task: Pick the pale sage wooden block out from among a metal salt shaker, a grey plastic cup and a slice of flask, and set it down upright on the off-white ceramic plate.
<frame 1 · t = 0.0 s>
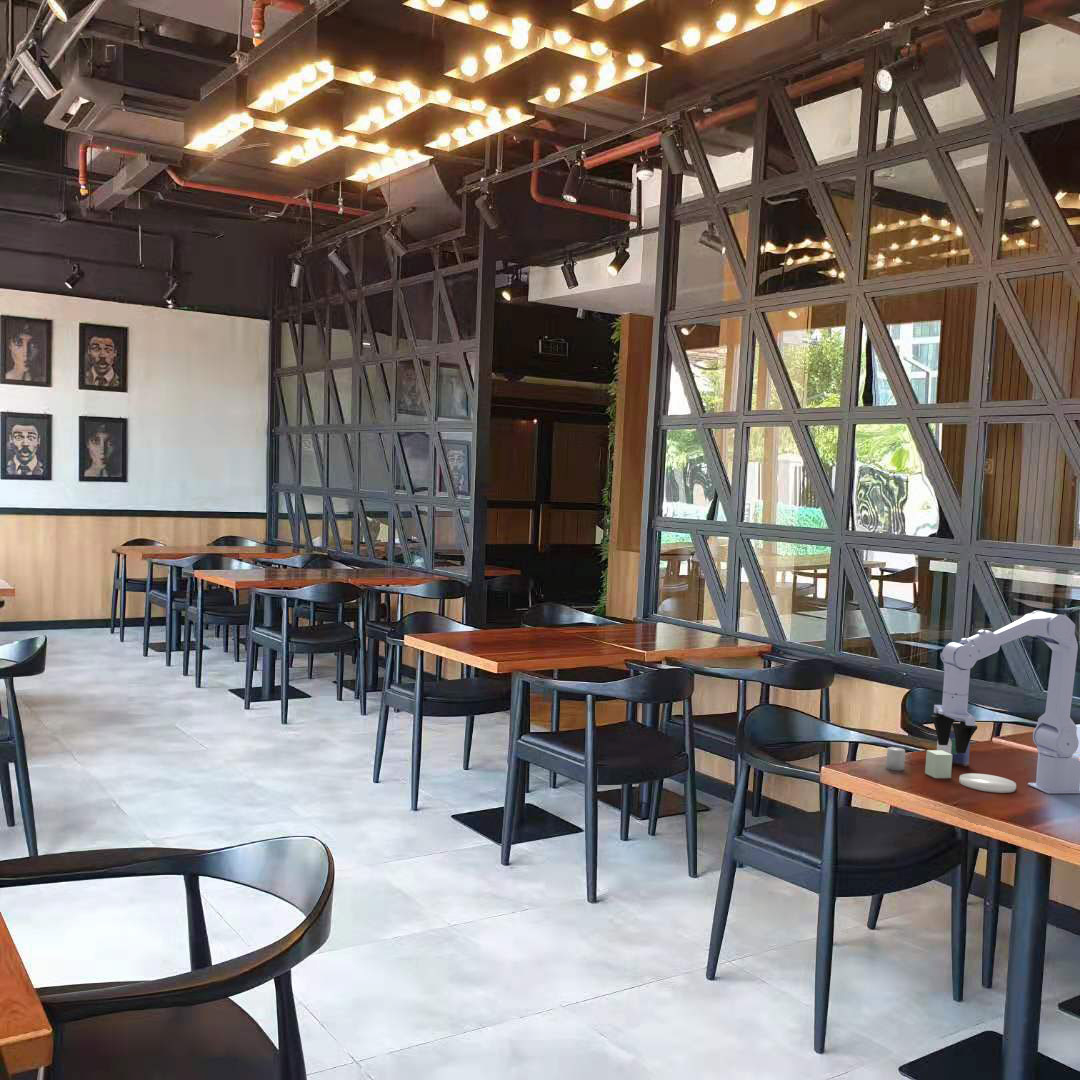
hand: (951, 748, 260), 10 cm above the table, tool pointing down, fingers open, 7 cm apart
salt shaker: (942, 767, 283), on the table
plate: (987, 785, 267), on the table
sage block: (937, 775, 274), on the table
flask: (951, 763, 289), on the table
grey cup: (894, 768, 280), on the table
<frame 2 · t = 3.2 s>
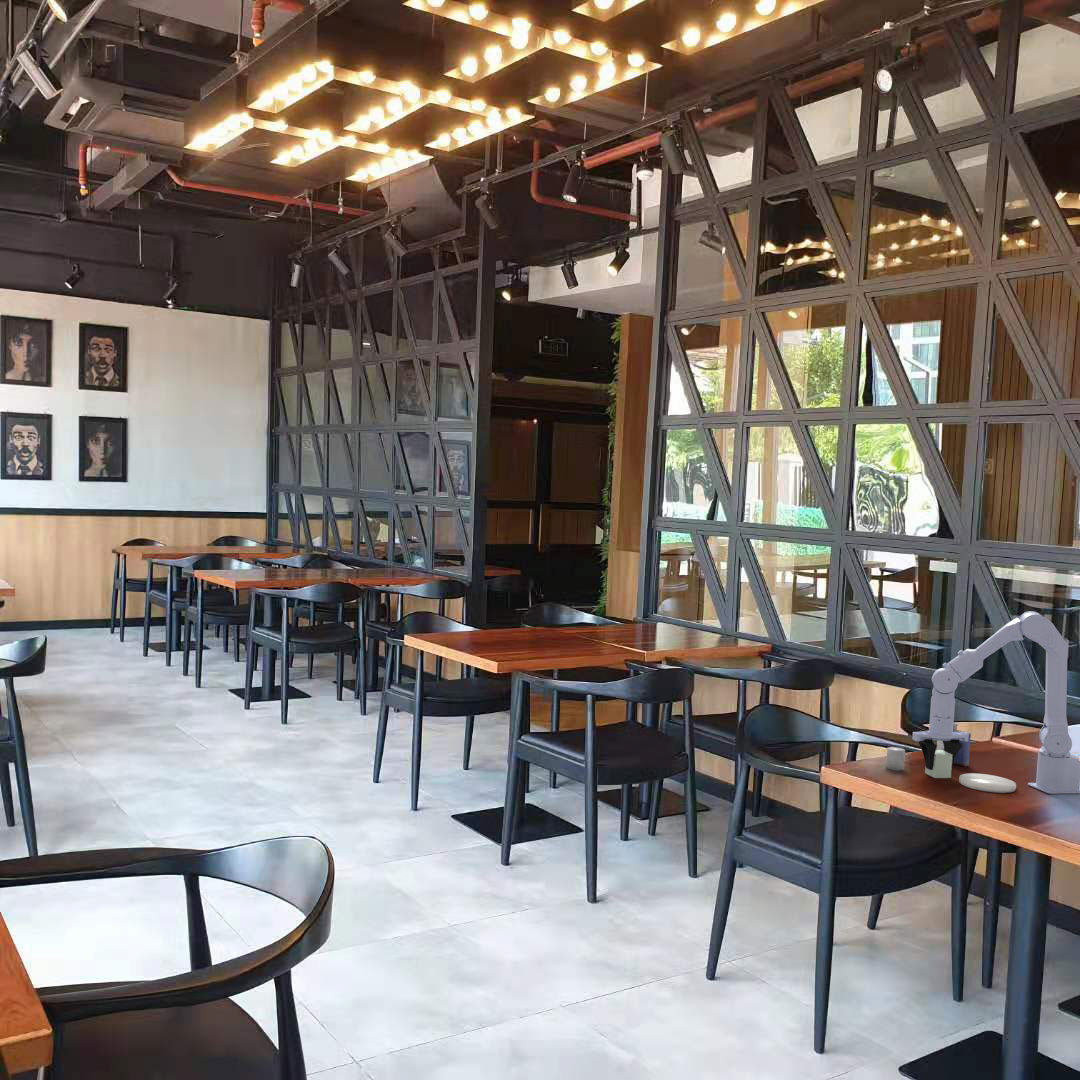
hand: (938, 768, 274), 2 cm above the table, tool pointing down, fingers closed on sage block, 4 cm apart
sage block: (937, 775, 274), on the table, touching gripper
everything else where it was.
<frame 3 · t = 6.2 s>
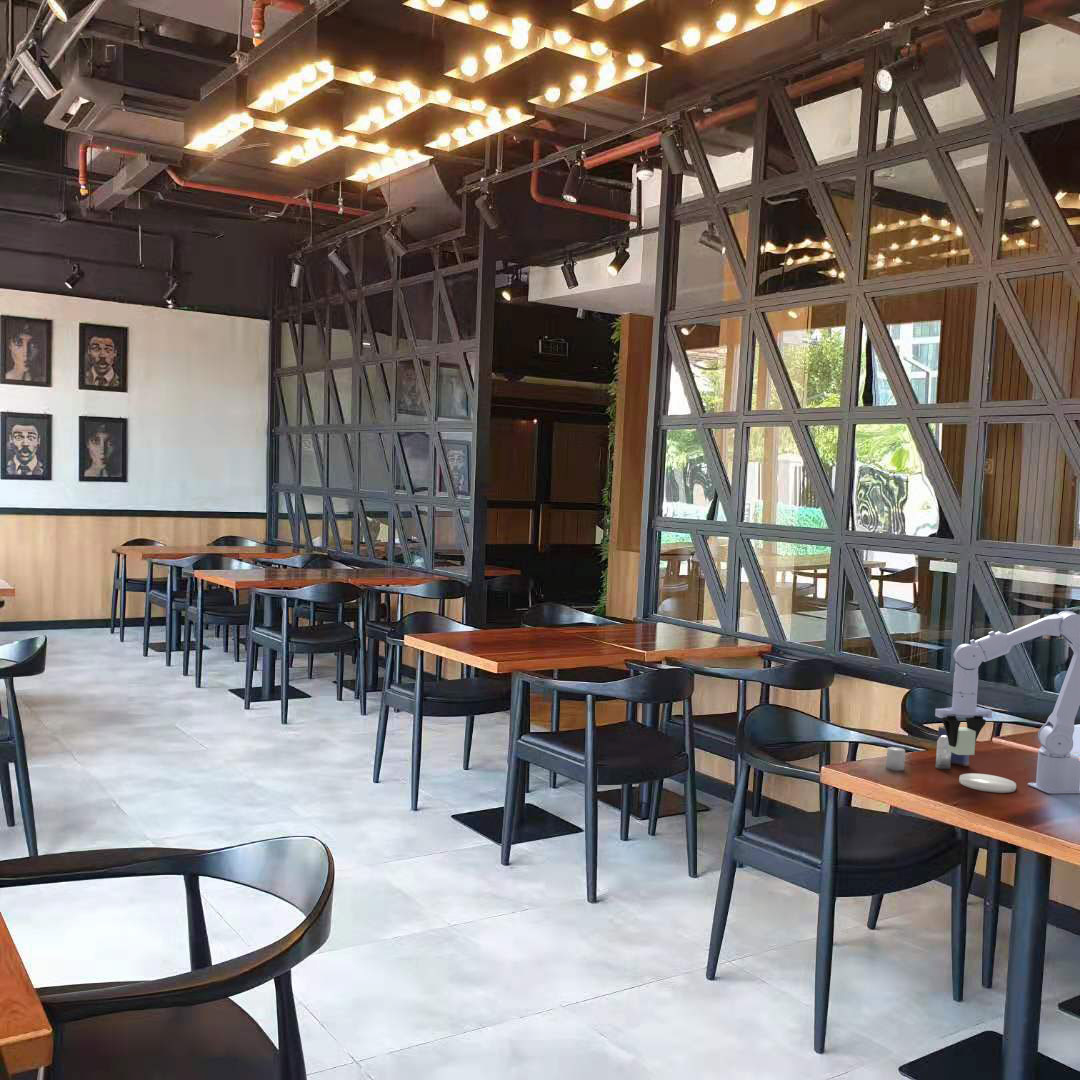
hand: (961, 745, 271), 9 cm above the table, tool pointing down, fingers closed on sage block, 4 cm apart
sage block: (961, 752, 271), point 7 cm above the table, touching gripper
everything else where it was.
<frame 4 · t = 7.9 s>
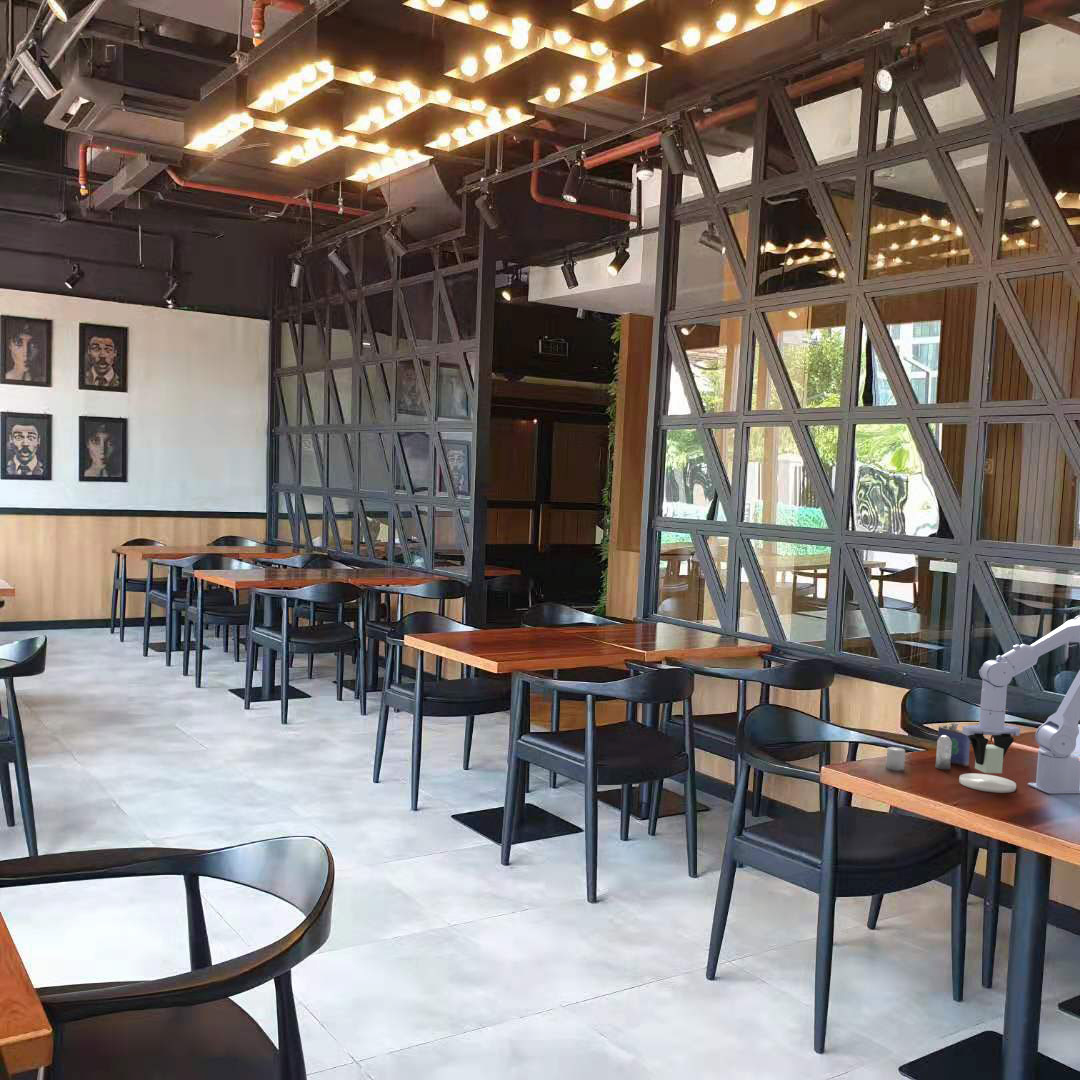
hand: (988, 763, 267), 5 cm above the table, tool pointing down, fingers closed on sage block, 4 cm apart
sage block: (988, 770, 267), point 4 cm above the table, touching gripper
everything else where it was.
when the fingers open (4 cm above the table, at t = 9.3 s): sage block drops 1 cm, resting on plate.
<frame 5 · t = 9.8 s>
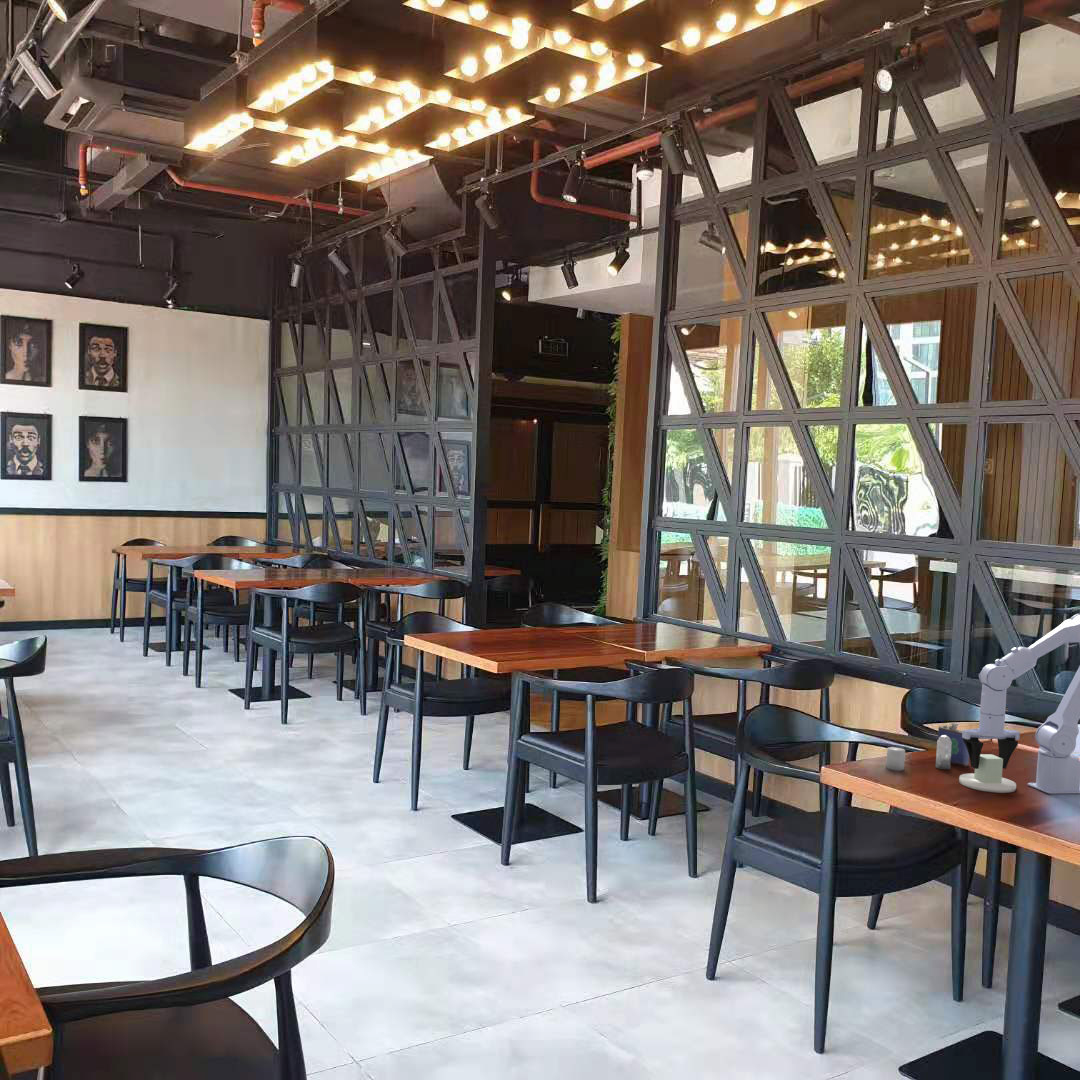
hand: (988, 767, 267), 4 cm above the table, tool pointing down, fingers open, 7 cm apart
sage block: (987, 780, 267), point 1 cm above the table, touching plate
everything else where it was.
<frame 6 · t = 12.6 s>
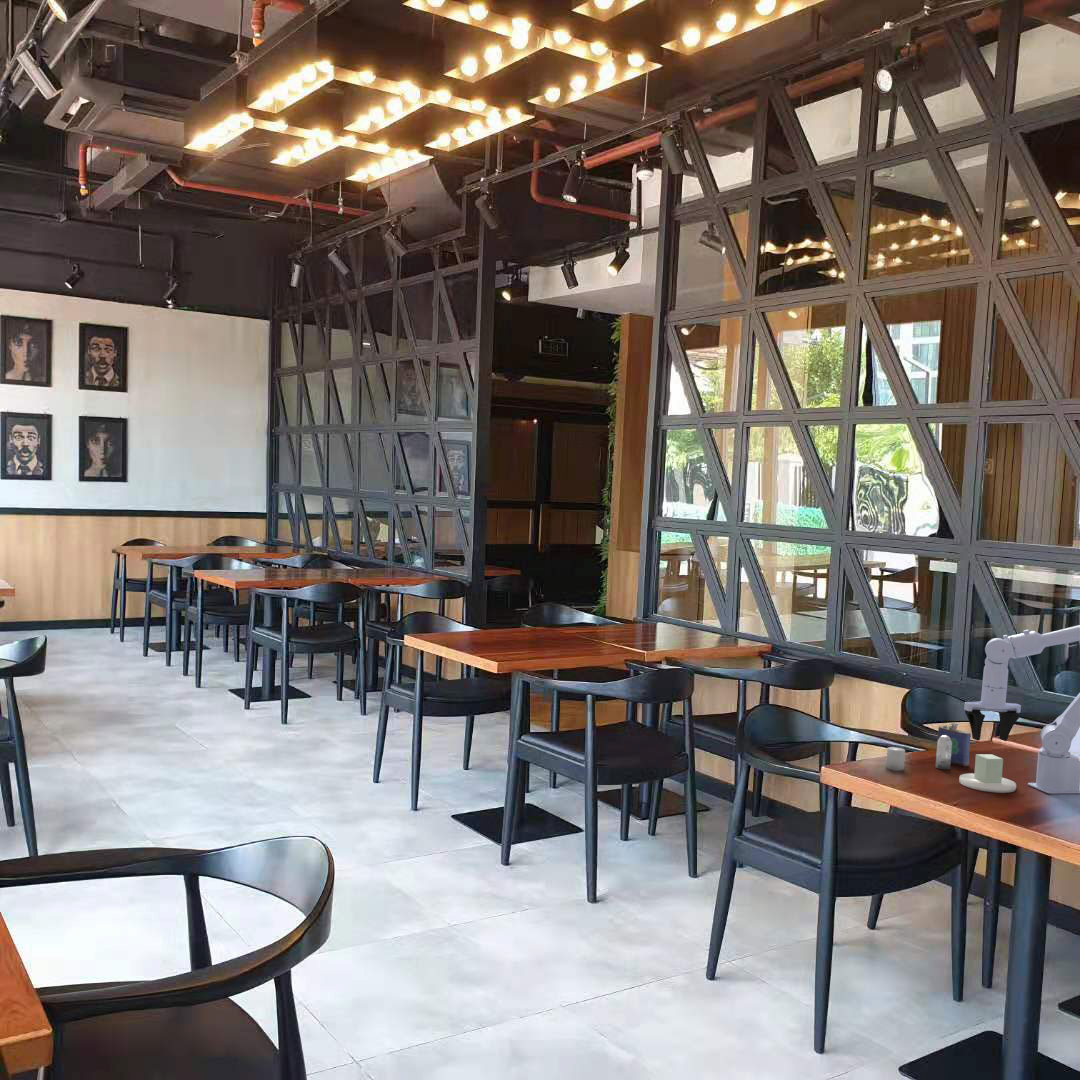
hand: (989, 739, 271), 10 cm above the table, tool pointing down, fingers open, 7 cm apart
nothing on the table moved.
at the end: sage block inside the target area on the plate (0.0 cm from its centre), point 1.2 cm above the plate's base; sage block tilted 0°; the gripper is holding nothing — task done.
